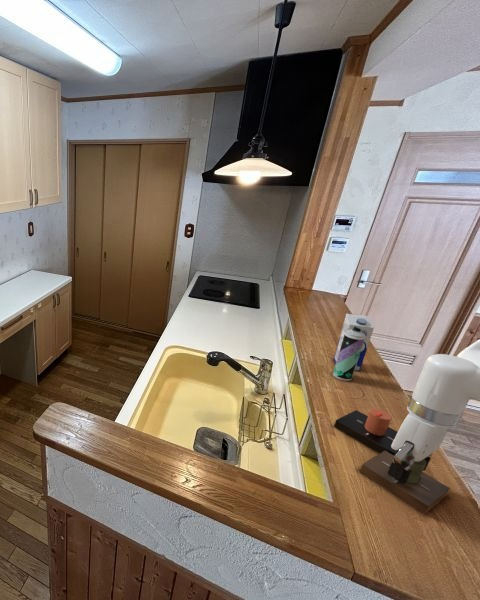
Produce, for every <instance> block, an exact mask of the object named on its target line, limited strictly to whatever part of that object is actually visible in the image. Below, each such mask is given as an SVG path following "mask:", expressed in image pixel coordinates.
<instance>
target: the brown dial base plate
mask: <svg viewBox="0 0 480 600" xmlns="http://www.w3.org/2000/svg"><path fill="white" fill-rule="evenodd" d="M393 458H394V455H392V454H390V453H389V452H387V451H383V452H382V453H380V454H379V453H377V455H375V456H374V457H372V458H370V459H368V460H367V461H365V462H363V463H362V464H361V467H360V470H359V472H360V473H361V474H363V475H364V476H366V477H367V478H369V479H370V480H371V481H373V482H375V483H377V484H378V485H379V486H381V487H382V488H384V489H386V491H388V492H390V493H391V494H393V495H394V496H396V497H397V498H399V499H401V500H402V501H403V502H405V503H407V504H408V505H410V506H411V507H412V508H414V509H416V510H417V511H418V512H420V513H422V514H423V515H426V514H427V512H429V511H430V510H431V509H433V508H434V507H435V506H436V505H437V504H439V503H440V502H441V501H442V500H443V499H445V498H446V497H447V496H448V494H449V492H450V491H451V487H449V486H447V485H446V484H444V483H442V482H441V481H438V480H437V479H435V478H434V477H432V476H430V475H428V474H426V473H425V472H424V471H423V472H422V474H421V476H420V478H419V480H418V482H417V483H408V482H406V483H405V484H403V483H401V482H399V481H398V480H396V479H395V478H393V477H391V476H390V475H389V474H388V470H389V468H390V466H391V463H392V461H393Z"/></svg>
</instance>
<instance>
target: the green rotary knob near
mask: <svg viewBox="0 0 480 600" xmlns="http://www.w3.org/2000/svg"><path fill="white" fill-rule="evenodd" d="M408 455H410V456H411V457H413V454H412V453H409V454H408ZM410 460H411V459H409V458H407V457H406V458H405V462H406V463H407V464H408V463H409V461H410ZM425 465H426V461H425V459H423V460H421V461H419V462H414V464H413V465H412V467H411V468H410V470H412V471H411V474H410V476H409V478H408V480H407V482H408V483H417V482H418V480H419V478H420V476H421V474H422V472H423V473H424V471H423V469H424V467H425Z"/></svg>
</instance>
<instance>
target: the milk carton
mask: <svg viewBox="0 0 480 600" xmlns="http://www.w3.org/2000/svg"><path fill="white" fill-rule="evenodd" d="M354 326H359V327H360V330H361V331H362V333H364V334H365V339H364V343H363V346H362V349H361V352H360V355H359V358H358V361H357V364H356V368H355V371H356V372H361V368H362V366H363V362H364V360H365V356H366V353H367V350H368V348H369V345H370V341H371V338H372V335H373V332H374V329H375V325H374V323H373V321H372V318H371V317H370V315H361V314H354V313H353V314H352V313H345V318H344V321H343V324H342V328H341V331H340V334H339V338H338V341H337V345H336V349H335V352H334V356H333V361H334V364H336V362H337V358H338V355H339V351H340V348H341V345H342V341H343V338H344V334H345V332H346V331H347V330H351V329H353V328H354Z"/></svg>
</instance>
